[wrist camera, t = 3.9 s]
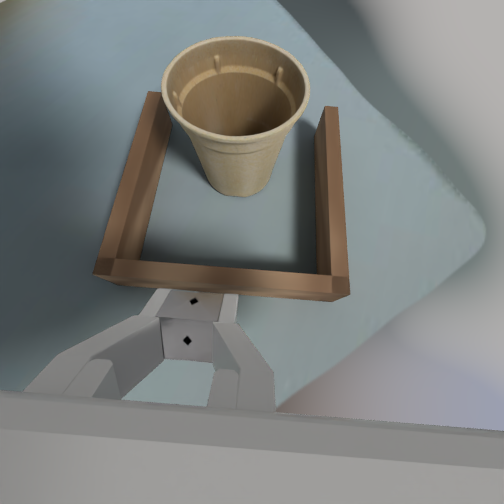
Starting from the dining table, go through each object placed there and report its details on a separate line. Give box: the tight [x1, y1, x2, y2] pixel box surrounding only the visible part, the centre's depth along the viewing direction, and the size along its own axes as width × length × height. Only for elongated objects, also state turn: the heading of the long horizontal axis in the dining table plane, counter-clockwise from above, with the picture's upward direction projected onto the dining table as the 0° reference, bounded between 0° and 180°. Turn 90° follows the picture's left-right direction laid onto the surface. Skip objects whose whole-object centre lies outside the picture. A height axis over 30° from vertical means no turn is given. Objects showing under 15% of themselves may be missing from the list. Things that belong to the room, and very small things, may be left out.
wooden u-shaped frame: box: [93, 91, 350, 302], centre depth 21 cm, size 17×17×4 cm
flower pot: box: [161, 36, 310, 197], centre depth 19 cm, size 9×9×9 cm
